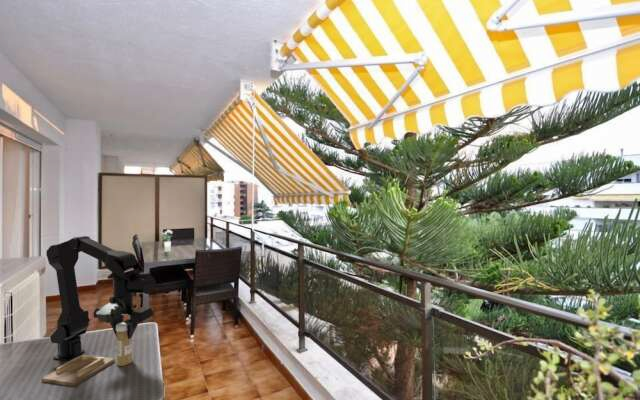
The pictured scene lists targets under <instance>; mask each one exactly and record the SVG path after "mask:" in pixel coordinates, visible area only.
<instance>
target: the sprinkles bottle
mask: <svg viewBox="0 0 640 400" xmlns="http://www.w3.org/2000/svg"><path fill="white" fill-rule="evenodd" d="M116 332H117V337H116V340H115V341H116V365H117V366H118V367H119V366H120V367H122V366H123V367H124V366H127V365H129V364H131V363H132V362H133V352H132V351H133V343H132V342H133V339H132V338H133V337H132V338H130V339H128V335H127V324H125V323H124V321H123V322H120V323H118V324H117V325H116Z"/></svg>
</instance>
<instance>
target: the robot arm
mask: <svg viewBox="0 0 640 400" xmlns="http://www.w3.org/2000/svg"><path fill="white" fill-rule="evenodd" d="M81 252H82V253H83V254H86V255H88V256H89V257H92V258H94V259H96V260H98V261H100V262H102V263H103V264H104V267H105V268H106V269H107V270H108V271H110V272H111V273H110V274H109V275H108V276H107V279H109V280H112V289H113V290H112V292H113V294H112V296H110V297H109V301H108V303H106V304H104V305H101V306H99V307H96V308H95V310H94V311H93V318H94V319H96V318H97V319H98V322H99V323H106V324H107V323H108V324H109V325H110V326H111V328H112V330H113V333H114V335H115V336H116V338H117V332H116V325H117V324H118V323H120V322H124V323H125V324H127V335H128V339H130V338H133V336H134V333H135V331H136V329H137V326H138V325H139V323H140V322H141V323H142V322H144V321H145V320H147V319H149V318H151V317H154V309H153V308H152V307H147V306H142V307H139V308H138V309H136V308H137V307H138V305H137V304H136V303H134V298H135V297H136V296H137V294H144V295H150V294H151V293H152V292H154V290H155V288H156V286H157V285H156V284H157V282H156V280H155V277H154V276H152V273H151V272H144V269H143V267H142V266H141V263H140V262H139V260H138V259H137V258H136V255H135V254H134V253H132V252H128V251H123V250H122V251H121V250H115V249H113V248H110V247H108V246H107V245H104V244H102V243H101V242H98V241H96V240H93V239H92V238H90V236H86V235H82V236H75V237H72V238H71V239H69V240H66V241H64V242H61V243H57V244H52V245H50V246H49V247H48V249H46V252H45V253H46V258H47V261H48V265H50V266H51V267H52V268H53V269H54V270H55V272H56V278H57V279H56V280H57V285H58V293H59V299H60V306H61V307H60V308H61V313H60V314H59V317H58V319H57V320H56V321H57V322H56V323H57V325H56V327H57V328H56V329H55V331H54V332H53V333H52V334H51V335H50V336H49V339H50V342H51V344H57V354H56V355H55V356H53V357H52V358H53V360H54V359H55V360H60V361H71V360H73V359H75V358H77V357H78V356H80V355H82V354H83V353H85V352H86V350H85V349H82V341H81V340H82V339H81V336H82V335H84V334H86V333H87V329H88V327H89V325H90V322H91V319H90V317H89V316H90V315H89V311H88V310H84V309H83V308H82V307H81V305H80V297H79V292H78V291H79V290H78V283H77V276H76V269H75V266H76V265H77V263H78V260H79V257H80V256H79V253H81ZM124 316H127V317H128V319H125V320H124Z"/></svg>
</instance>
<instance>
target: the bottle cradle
mask: <svg viewBox="0 0 640 400" xmlns="http://www.w3.org/2000/svg"><path fill="white" fill-rule="evenodd" d="M114 362H115V358H113V357H106V356H97V355H91V354H79V355H77V356H76V357H74V358H72V359H70V360H68V361H67V362H65V363H63V364H62V365H60V366H58V367H56V368H55V370H54V371H52V372H51V373H49V374H47V375H45V376H43V377H42V378H41V382H44V383H50V384H55V385H63V386H68V387H76V386H77V385H79V384H81V383H82V382H83V381H86V380H87V379H89V378H90V377H92V376H93V375H95V374H96V373H98V372H99V371H101V370H103V369H104V368H106V367H108V366H110V365H111V364H113V363H114Z"/></svg>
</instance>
